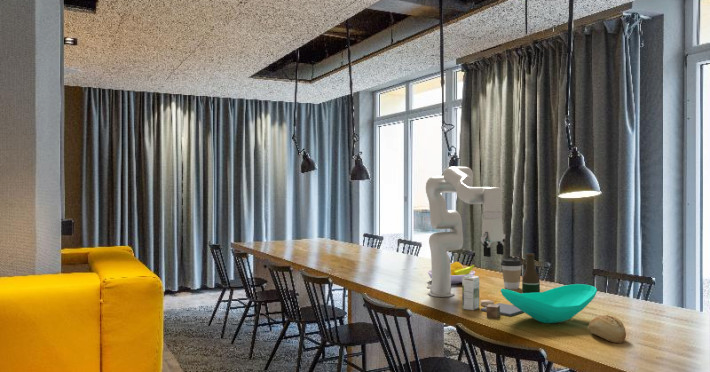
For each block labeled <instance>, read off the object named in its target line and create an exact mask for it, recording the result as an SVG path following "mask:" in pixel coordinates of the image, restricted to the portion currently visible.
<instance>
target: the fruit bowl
mask: <svg viewBox="0 0 710 372" xmlns="http://www.w3.org/2000/svg"><path fill="white" fill-rule="evenodd" d="M450 264H451V285H453V284H454V285H456V284H457V285H458V284H462V277H465V276H468V275H472V276H475V273H476V271H475V270H473V269H474V267H475V265H474V264H472V265H471V266H467V267H464V266H463V264H462V263H460V262H459V261H454V262H453V263H450ZM427 274H428V276H429V278H430V279H432V269H430V270H427Z"/></svg>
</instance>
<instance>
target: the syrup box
mask: <svg viewBox="0 0 710 372" xmlns="http://www.w3.org/2000/svg"><path fill="white" fill-rule="evenodd" d="M461 284H462V285H461V289H462V291H461V293H462V294H461V295H462V296H461V297H462V298H461V299H462V301H461V304H462V309H463V310H468V311H475V310H478V309H480V277H479V276H478V275H474V276H472V275H468V276H465V277H462V283H461Z"/></svg>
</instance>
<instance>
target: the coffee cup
mask: <svg viewBox="0 0 710 372" xmlns="http://www.w3.org/2000/svg"><path fill="white" fill-rule="evenodd" d="M500 266H501V270H502V277H503V285H504V289H508V290H518V289H519V288H520V283H521V275H522V274H521V273H522V266H523V263H522V261H521V259H520V258H503V259H502V260H501V262H500Z"/></svg>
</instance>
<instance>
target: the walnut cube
mask: <svg viewBox="0 0 710 372" xmlns="http://www.w3.org/2000/svg"><path fill="white" fill-rule="evenodd" d="M485 307H486V310H487V312H486V318H494V319H498V318H499V317H500V316H501V314H500V305H495V304H494V305H492V304H489V305H488V306H485Z"/></svg>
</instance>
